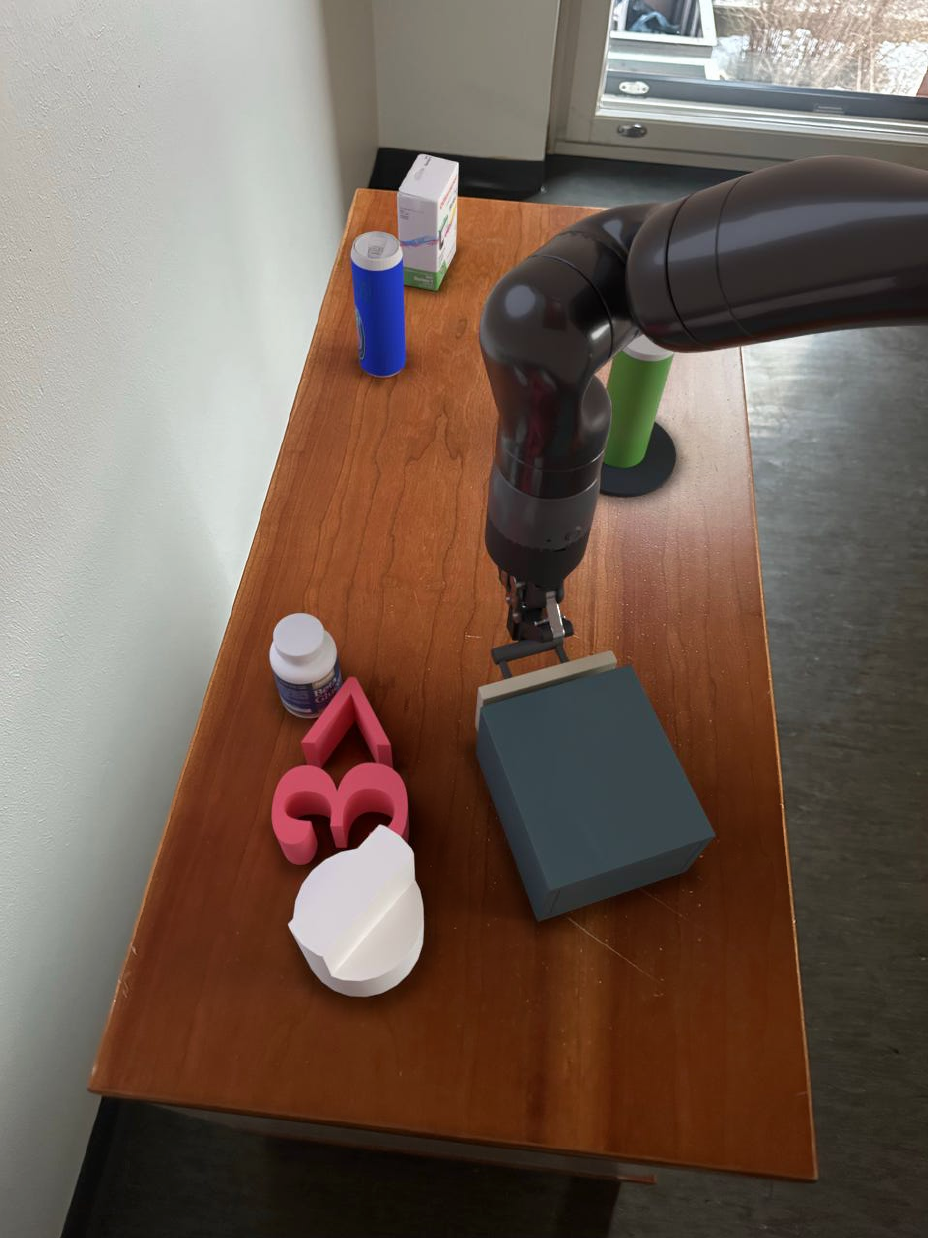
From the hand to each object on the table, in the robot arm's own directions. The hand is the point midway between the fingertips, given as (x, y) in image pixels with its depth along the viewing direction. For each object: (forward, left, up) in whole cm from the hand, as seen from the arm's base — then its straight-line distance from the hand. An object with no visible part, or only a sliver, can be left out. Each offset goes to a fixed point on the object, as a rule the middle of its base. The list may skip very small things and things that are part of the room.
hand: (520, 632), depth 77 cm
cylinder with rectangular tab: (+19, +19, -4) cm, 27 cm away
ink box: (-9, -55, -4) cm, 56 cm away
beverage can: (+1, -40, -4) cm, 40 cm away
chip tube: (-19, -20, -4) cm, 28 cm away
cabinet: (0, +15, -4) cm, 16 cm away
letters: (+17, +7, -4) cm, 19 cm away
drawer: (0, +10, -3) cm, 11 cm away
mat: (-19, -20, -4) cm, 28 cm away
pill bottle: (+18, -2, -4) cm, 19 cm away
